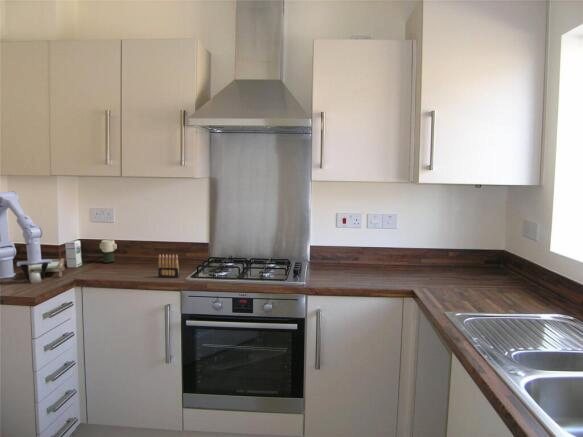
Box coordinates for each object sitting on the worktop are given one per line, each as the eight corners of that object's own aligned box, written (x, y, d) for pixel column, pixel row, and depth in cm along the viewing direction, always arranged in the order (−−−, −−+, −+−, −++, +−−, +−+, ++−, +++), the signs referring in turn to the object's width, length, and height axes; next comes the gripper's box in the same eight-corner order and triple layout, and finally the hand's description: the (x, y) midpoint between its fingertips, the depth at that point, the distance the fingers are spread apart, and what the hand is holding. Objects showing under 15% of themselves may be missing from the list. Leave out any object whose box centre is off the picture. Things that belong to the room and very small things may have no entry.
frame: (27, 280, 215) (26, 267, 214) (32, 272, 229) (31, 260, 228) (61, 276, 220) (60, 264, 220) (64, 270, 235) (63, 258, 234)
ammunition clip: (158, 277, 220) (157, 254, 218) (159, 276, 221) (158, 253, 220) (178, 277, 218) (177, 254, 217) (179, 277, 220) (179, 253, 219)
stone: (29, 283, 208) (28, 273, 207) (31, 281, 212) (30, 271, 211) (41, 282, 210) (40, 272, 209) (42, 280, 214) (41, 270, 213)
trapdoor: (34, 264, 227) (34, 260, 227) (60, 262, 232) (60, 258, 232) (30, 269, 215) (30, 265, 215) (57, 267, 220) (57, 263, 220)
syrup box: (77, 267, 241) (75, 241, 239) (66, 267, 241) (65, 241, 240) (82, 265, 247) (80, 240, 245) (72, 265, 247) (70, 240, 245)
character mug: (120, 261, 256) (119, 239, 255) (113, 264, 249) (112, 241, 248) (104, 260, 258) (103, 239, 257) (96, 263, 251) (95, 241, 250)
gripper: (14, 254, 203) (17, 282, 204) (49, 252, 208) (51, 279, 210) (17, 251, 209) (19, 279, 211) (51, 249, 215) (53, 276, 216)
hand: (35, 279), depth 211 cm, fingers open, 6 cm apart
